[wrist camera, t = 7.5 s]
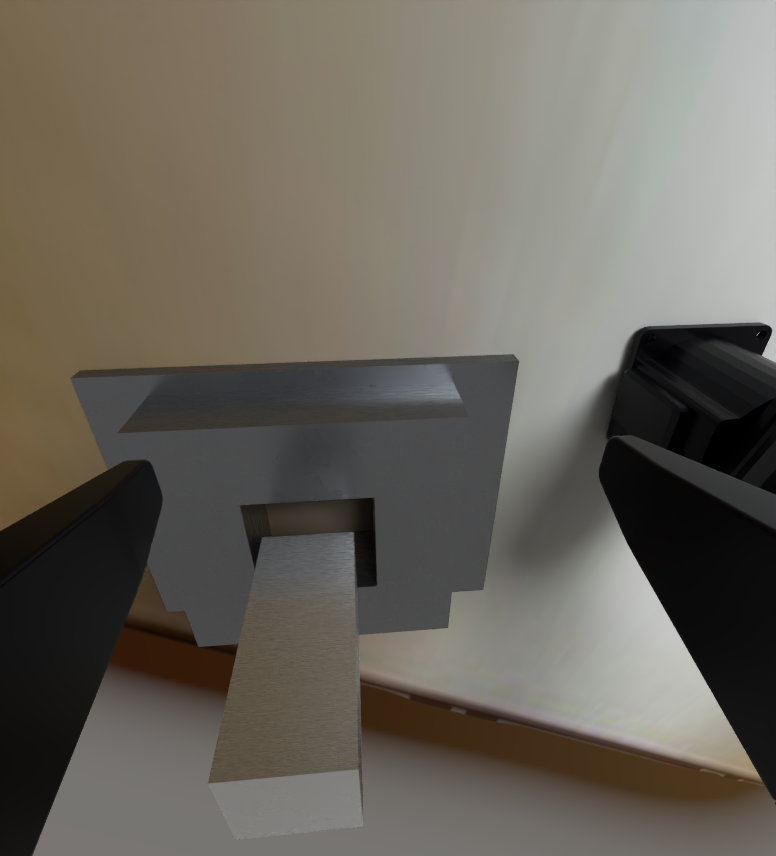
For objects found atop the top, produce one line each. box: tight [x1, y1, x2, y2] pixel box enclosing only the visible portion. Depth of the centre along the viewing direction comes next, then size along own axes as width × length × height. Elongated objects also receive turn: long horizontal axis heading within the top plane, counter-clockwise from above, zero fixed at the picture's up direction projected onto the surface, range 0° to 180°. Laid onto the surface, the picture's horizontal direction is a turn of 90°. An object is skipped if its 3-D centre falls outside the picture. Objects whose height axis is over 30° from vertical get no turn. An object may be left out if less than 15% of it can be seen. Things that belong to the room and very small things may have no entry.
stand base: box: [71, 355, 519, 647], centre depth 23 cm, size 20×16×6 cm
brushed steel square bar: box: [208, 532, 364, 839], centre depth 17 cm, size 4×4×9 cm
